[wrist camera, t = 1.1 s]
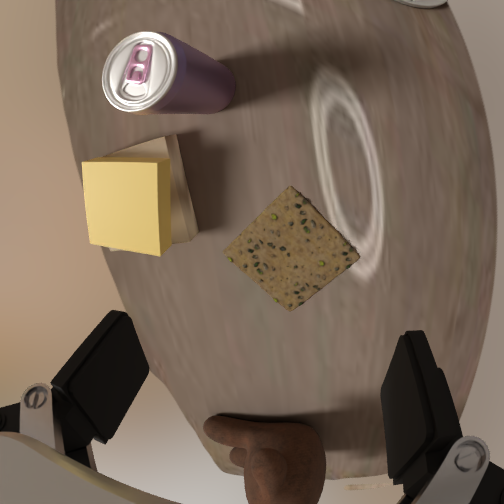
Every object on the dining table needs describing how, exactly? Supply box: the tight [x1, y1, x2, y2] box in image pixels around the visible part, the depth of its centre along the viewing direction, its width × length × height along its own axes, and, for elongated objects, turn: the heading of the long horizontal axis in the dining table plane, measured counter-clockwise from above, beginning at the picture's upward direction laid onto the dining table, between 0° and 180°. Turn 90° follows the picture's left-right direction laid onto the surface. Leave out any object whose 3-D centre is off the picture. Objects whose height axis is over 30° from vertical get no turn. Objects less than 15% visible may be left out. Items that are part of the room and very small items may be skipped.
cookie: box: [223, 186, 360, 311], centre depth 34 cm, size 12×12×1 cm
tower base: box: [103, 135, 199, 251], centre depth 33 cm, size 12×12×3 cm
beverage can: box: [102, 31, 236, 115], centre depth 21 cm, size 6×6×15 cm
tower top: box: [82, 157, 172, 256], centre depth 30 cm, size 10×10×3 cm
